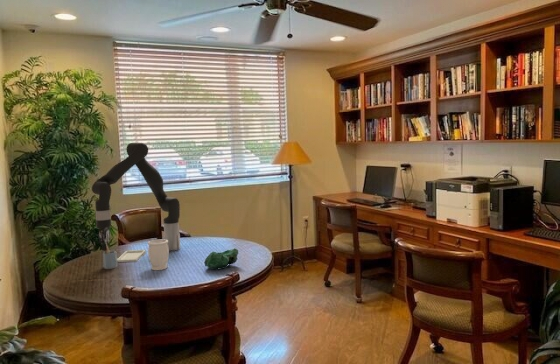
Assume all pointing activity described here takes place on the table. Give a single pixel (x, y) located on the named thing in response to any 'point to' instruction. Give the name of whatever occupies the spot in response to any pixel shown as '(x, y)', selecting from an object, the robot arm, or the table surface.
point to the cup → (110, 260)
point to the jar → (158, 254)
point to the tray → (131, 256)
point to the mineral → (221, 259)
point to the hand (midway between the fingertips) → (105, 249)
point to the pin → (107, 250)
